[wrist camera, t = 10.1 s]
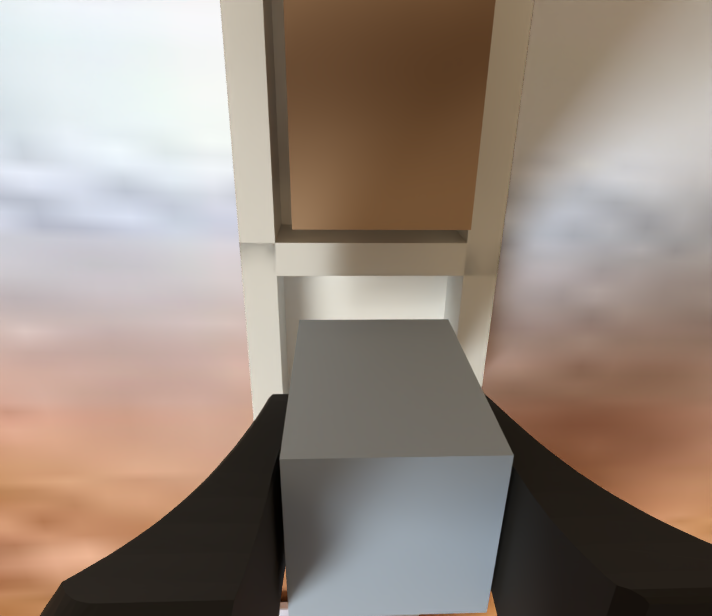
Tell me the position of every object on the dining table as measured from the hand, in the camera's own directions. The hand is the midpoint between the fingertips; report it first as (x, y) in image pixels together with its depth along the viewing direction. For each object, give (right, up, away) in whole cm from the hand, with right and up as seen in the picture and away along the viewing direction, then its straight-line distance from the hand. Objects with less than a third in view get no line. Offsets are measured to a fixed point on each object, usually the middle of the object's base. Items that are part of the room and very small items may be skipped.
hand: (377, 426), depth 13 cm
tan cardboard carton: (0, +10, +2) cm, 10 cm away
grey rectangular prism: (0, +1, +2) cm, 2 cm away
